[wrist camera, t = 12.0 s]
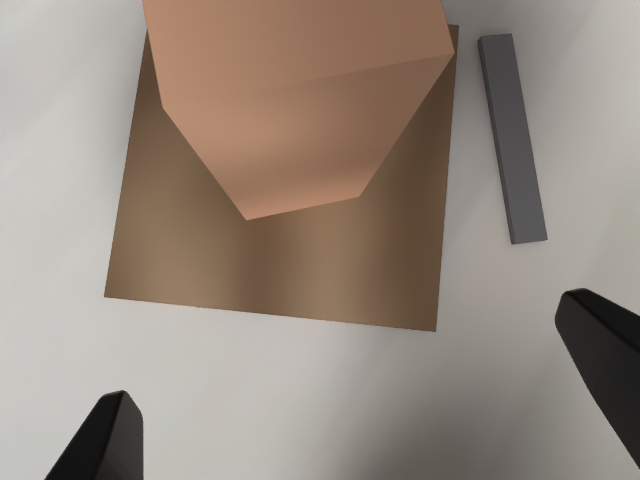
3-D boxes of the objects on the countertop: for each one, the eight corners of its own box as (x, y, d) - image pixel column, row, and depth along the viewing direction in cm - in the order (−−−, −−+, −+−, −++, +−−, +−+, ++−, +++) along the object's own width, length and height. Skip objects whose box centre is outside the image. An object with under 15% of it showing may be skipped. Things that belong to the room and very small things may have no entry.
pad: (451, 37, 22) (458, 25, 21) (428, 329, 20) (435, 331, 19) (160, -1, 21) (153, -15, 20) (113, 296, 20) (103, 297, 19)
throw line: (478, 40, 22) (481, 36, 21) (507, 38, 22) (511, 33, 21) (511, 244, 21) (515, 243, 20) (542, 240, 21) (547, 239, 20)
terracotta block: (359, 196, 20) (454, 53, 8) (246, 220, 19) (163, 107, 7) (334, 89, 20) (388, -203, 8) (223, 110, 20) (110, -164, 8)
